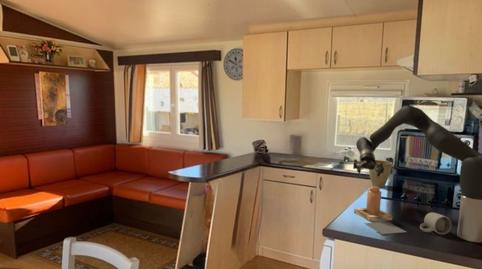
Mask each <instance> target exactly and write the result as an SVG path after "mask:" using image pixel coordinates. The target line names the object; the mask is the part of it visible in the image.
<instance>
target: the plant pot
mask: <svg viewBox="0 0 482 269" xmlns="http://www.w3.org/2000/svg"><path fill="white" fill-rule="evenodd" d="M375 161H376V164H377V165H380V164H383V167H384V171H383V173H381V174H380V176H379V177H378V176H377V173H376V172H374V171H372V170H370V169H368V172H369V178H370V182H371V186H377V187H380V188H384V187H385V185H386V184H387V182H388V180H389V177H390V174H391V172H392V168H393V164H394V163H393V162H391V161H388V160H382V159H381V160H379V159H378V160H377V159H375Z"/></svg>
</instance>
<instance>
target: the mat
mask: <svg viewBox="0 0 482 269" xmlns="http://www.w3.org/2000/svg"><path fill="white" fill-rule="evenodd" d="M363 224H364V225H366V226H367V227H369V228H371V229H372V230H374V231H375V232H376V233H377V234H379V235H381V236H389V235H392V234H401V233H403V234H404V233H407V231H406V230H404V229H402V228H401V227H398V226H397V225H395V224H393V223H391V222H389V221H375V222H364V223H363Z"/></svg>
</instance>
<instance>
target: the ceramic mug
mask: <svg viewBox="0 0 482 269" xmlns="http://www.w3.org/2000/svg"><path fill="white" fill-rule="evenodd" d="M423 221H424V222H423V223H421V224H420V225H419V228H420V230H421V231H422V232H424V233H430V232H435V233H437V235H446V234H448V233H449V232H450V231H451V228H452V221H451V219H450V218H449V217H448V216H445V215H443V214H440V213H437V212H428V213H427V214H426V215H425V216H424V219H423ZM424 227H427V228H424Z"/></svg>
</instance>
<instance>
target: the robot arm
mask: <svg viewBox="0 0 482 269" xmlns="http://www.w3.org/2000/svg"><path fill="white" fill-rule="evenodd" d="M401 125H407V126H412V127H414V128H416V129H418V130H419V131H421V132H422V133H423V134H424V136H425V140H426V141H427V142H428V143H429V144H430V145H431V146H432V147H433V148H435V149H436V150H438V152H441V153H442V154H445V155H447V156H449V157H452V158H453V159H456V160H458V161H460V162H461V164H460V170H459V188H460V191H461V192H460V204H459V213H458V222H457V232H456V233H457V234H456V236H457V237H458V238H460V239H462V240H465V241H467V242H472V243H482V153H481V152H479V151H478V150H476V149H474V148H472V147H471V146H469V145H468V144H467V143H465V142H464V141H463V140H462V139H461V138H459V137H458V136H456V135H455V134H454V133H452V132H451V131H449V130H448V129H447V128H446V127H444V126H443V125H441V124H439V123H437V122H436V121H435V120H433V119H431V118H430V116H429V115H428V114H426V112H424V111H423V109H421V108H418V107H415V106H411V105H404V106H402V107H401V108H399V109H398V110H397V111H396V112H395V113H394V114H393V115H392V116H391V118H389V119H388V120H387V121H386V122H385V123H384V124H383V125H382V126H380V127H379V128H378V129H377V130H375V131H373V132H372V133H371V134H370V135H369V139H368V138H367V137H365V136H362V137H360V138H358V139H357V141H356V145H355V146H356V148H357V150H358V152H359V161H358V159H353V160H354V161H353V169H354V170H356V172H357V173H358V174H361V171H363V170H364V169H365V170H369V169H370V170H372V171H374V172H376V173H377V176H378V177H379V176H380V174H381V173H383V171H384V167H383V164H380V165H377V164H376V161H375V160H376V157H375V154H374V152H375V151H376V149H377V148H378V147H379V146H380V145H381V144H382V143H384V142H385V141H388V139H389V138H390V137H391V136H392V135H393V133H394V130H396V128H398V127H399V126H401Z"/></svg>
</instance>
